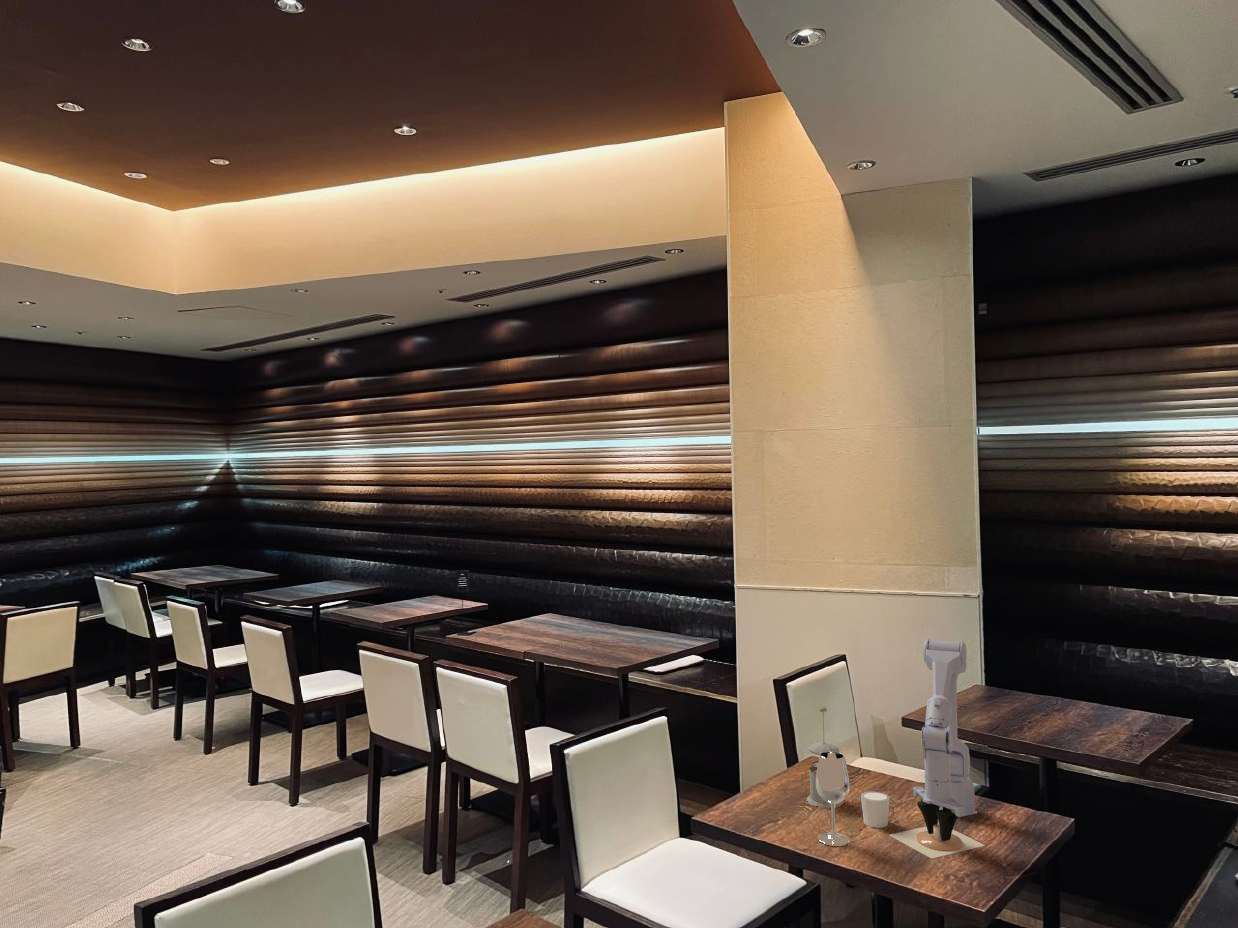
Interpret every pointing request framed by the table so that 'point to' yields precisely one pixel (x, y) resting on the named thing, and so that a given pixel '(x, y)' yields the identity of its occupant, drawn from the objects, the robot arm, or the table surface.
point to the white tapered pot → (875, 809)
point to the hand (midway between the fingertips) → (939, 836)
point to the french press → (817, 750)
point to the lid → (938, 840)
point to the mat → (911, 841)
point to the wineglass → (832, 791)
